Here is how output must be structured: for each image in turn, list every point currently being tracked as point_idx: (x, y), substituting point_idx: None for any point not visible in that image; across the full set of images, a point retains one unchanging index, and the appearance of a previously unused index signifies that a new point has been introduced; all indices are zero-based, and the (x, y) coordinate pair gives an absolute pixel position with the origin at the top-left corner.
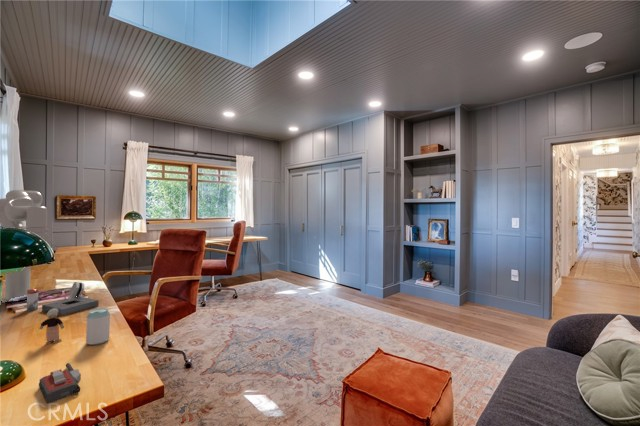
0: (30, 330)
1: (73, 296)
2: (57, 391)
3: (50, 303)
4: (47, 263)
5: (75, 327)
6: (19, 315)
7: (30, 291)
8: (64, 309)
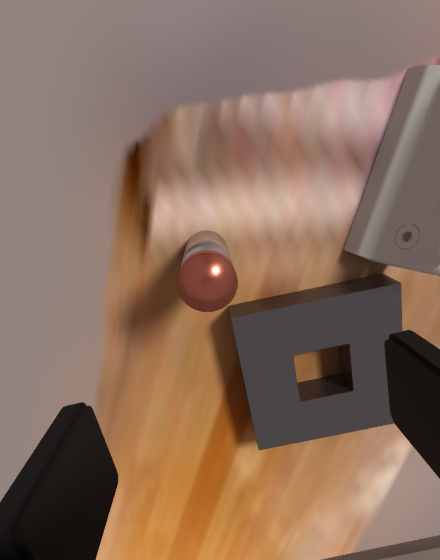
0: (146, 500)
1: (385, 263)
2: None
3: (262, 320)
4: (391, 390)
5: (237, 554)
6: (151, 304)
7: (190, 304)
8: (265, 447)
